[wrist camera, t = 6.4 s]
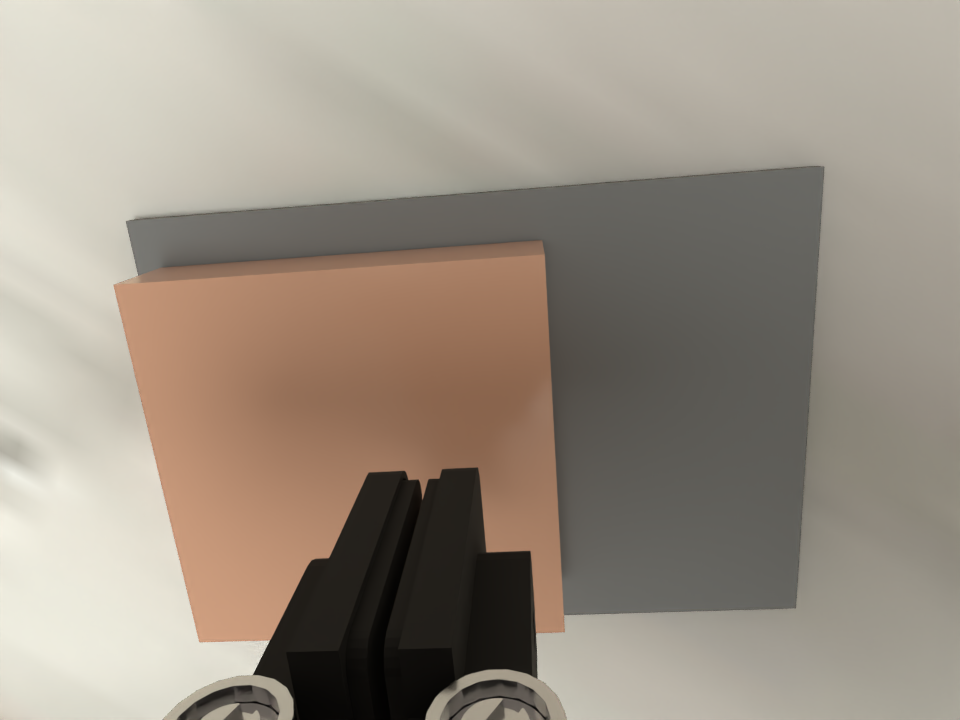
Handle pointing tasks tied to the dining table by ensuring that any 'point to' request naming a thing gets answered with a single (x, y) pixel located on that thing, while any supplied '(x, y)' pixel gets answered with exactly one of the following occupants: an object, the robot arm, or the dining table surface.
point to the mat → (627, 361)
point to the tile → (341, 409)
